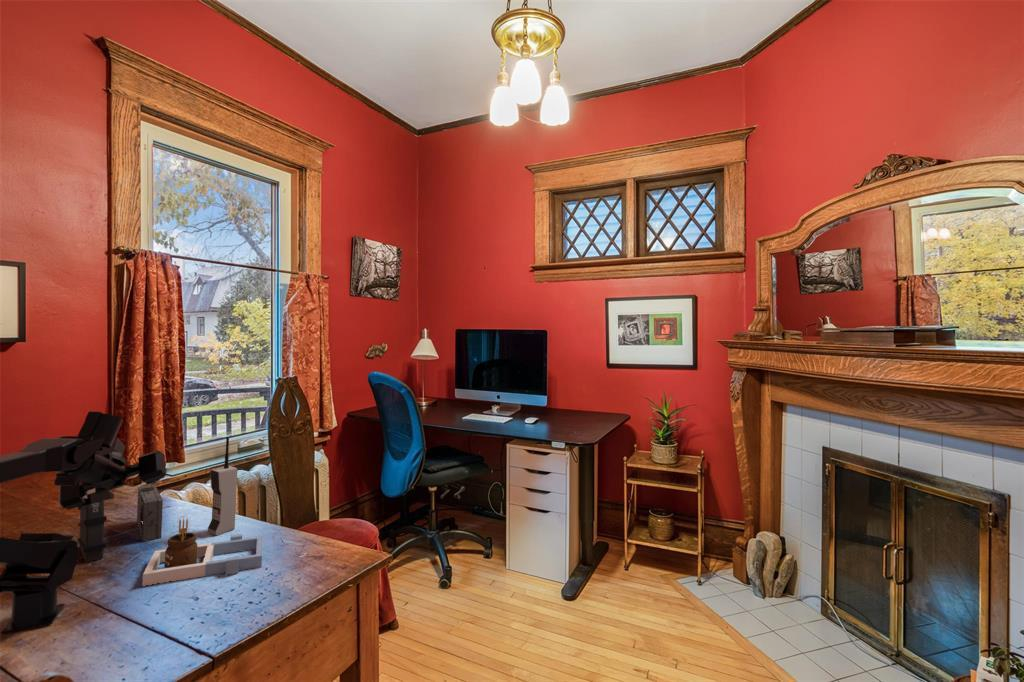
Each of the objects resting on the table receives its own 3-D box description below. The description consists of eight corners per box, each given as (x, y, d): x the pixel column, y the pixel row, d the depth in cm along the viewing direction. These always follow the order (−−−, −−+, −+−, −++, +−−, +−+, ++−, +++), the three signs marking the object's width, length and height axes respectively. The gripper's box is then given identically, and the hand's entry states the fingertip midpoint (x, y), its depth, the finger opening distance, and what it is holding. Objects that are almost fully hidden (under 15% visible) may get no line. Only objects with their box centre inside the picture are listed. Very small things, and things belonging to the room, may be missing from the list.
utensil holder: (196, 559, 107) (198, 508, 107) (197, 571, 102) (200, 517, 102) (164, 565, 103) (166, 512, 103) (164, 578, 98) (166, 522, 98)
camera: (135, 521, 126) (137, 485, 126) (153, 518, 129) (155, 482, 129) (142, 542, 114) (143, 502, 114) (161, 538, 117) (163, 499, 117)
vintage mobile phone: (207, 532, 121) (211, 437, 121) (226, 526, 125) (230, 434, 125) (215, 536, 119) (220, 439, 119) (234, 529, 124) (239, 436, 124)
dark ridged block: (85, 561, 100) (84, 492, 105) (77, 567, 108) (76, 503, 113) (108, 556, 103) (105, 488, 108) (98, 562, 111) (97, 499, 115)
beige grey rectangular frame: (261, 569, 104) (261, 555, 104) (140, 589, 94) (141, 574, 94) (262, 543, 116) (262, 531, 116) (156, 559, 106) (156, 545, 106)
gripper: (143, 419, 101) (178, 443, 114) (39, 450, 95) (88, 472, 108) (146, 465, 96) (182, 485, 109) (36, 501, 90) (88, 517, 103)
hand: (136, 488), depth 108 cm, fingers open, 9 cm apart
